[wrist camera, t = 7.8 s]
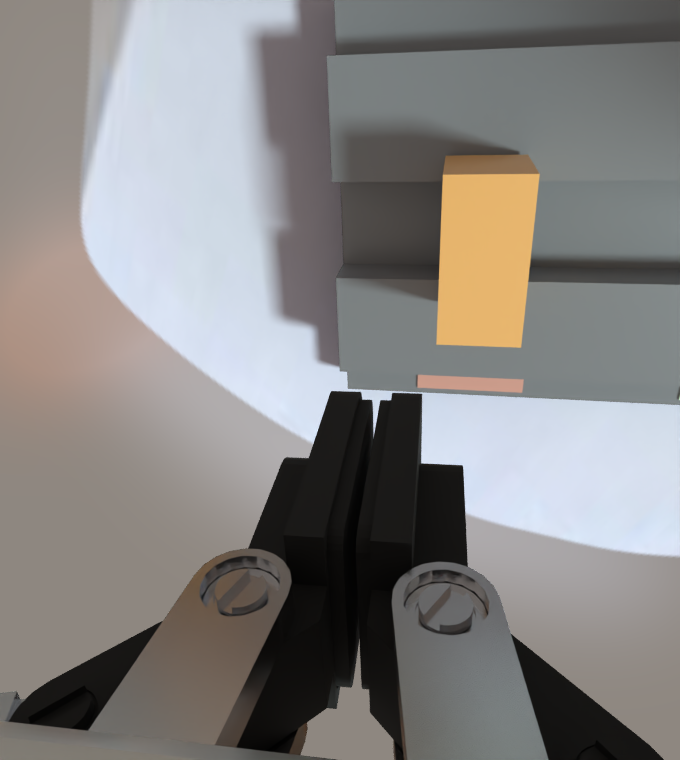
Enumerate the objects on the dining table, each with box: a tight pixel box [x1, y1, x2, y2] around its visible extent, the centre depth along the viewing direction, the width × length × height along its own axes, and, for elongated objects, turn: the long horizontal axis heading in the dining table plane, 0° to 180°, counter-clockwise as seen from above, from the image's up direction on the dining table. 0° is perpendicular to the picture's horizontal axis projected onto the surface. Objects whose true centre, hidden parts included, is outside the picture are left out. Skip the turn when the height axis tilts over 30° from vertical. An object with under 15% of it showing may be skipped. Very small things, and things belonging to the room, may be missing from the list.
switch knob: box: [436, 155, 540, 348], centre depth 24 cm, size 3×6×6 cm, turn 2°
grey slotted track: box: [327, 0, 680, 405], centre depth 26 cm, size 24×17×4 cm
